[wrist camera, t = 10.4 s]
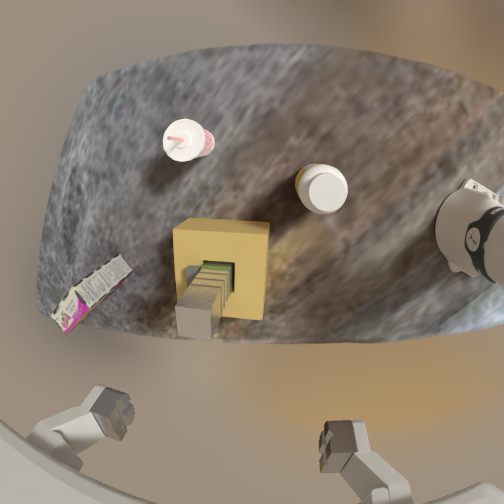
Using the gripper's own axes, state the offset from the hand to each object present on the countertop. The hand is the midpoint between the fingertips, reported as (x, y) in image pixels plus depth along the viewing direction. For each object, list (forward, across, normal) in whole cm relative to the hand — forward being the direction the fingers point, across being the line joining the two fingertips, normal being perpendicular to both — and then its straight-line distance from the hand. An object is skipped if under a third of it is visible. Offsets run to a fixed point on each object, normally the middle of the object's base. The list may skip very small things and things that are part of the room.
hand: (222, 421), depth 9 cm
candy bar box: (+39, +32, +14) cm, 53 cm away
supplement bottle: (+39, -7, -6) cm, 40 cm away
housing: (+39, +7, +8) cm, 40 cm away
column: (+34, +7, +8) cm, 36 cm away
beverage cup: (+39, +12, -12) cm, 43 cm away
